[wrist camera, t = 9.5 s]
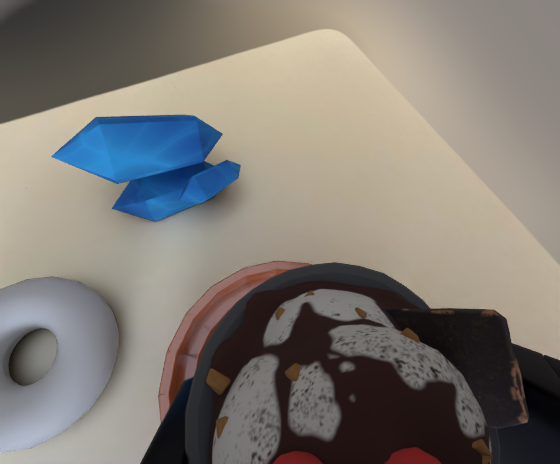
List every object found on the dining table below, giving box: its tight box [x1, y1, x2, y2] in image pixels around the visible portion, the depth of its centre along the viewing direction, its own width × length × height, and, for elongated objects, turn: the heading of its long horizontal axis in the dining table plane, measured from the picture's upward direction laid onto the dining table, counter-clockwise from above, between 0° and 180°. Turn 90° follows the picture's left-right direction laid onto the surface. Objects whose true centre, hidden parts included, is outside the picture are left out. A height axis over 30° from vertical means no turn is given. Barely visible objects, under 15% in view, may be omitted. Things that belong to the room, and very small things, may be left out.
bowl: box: [158, 261, 312, 423], centre depth 19 cm, size 14×14×4 cm
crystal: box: [51, 115, 241, 221], centre depth 22 cm, size 7×9×12 cm
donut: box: [0, 277, 119, 453], centre depth 19 cm, size 10×4×10 cm
